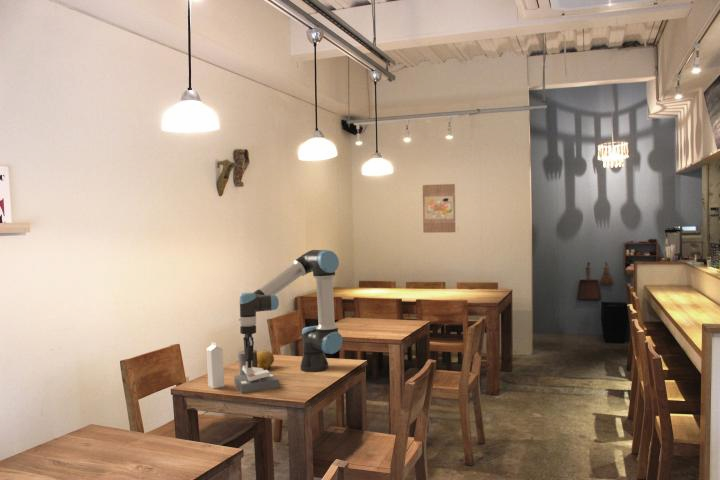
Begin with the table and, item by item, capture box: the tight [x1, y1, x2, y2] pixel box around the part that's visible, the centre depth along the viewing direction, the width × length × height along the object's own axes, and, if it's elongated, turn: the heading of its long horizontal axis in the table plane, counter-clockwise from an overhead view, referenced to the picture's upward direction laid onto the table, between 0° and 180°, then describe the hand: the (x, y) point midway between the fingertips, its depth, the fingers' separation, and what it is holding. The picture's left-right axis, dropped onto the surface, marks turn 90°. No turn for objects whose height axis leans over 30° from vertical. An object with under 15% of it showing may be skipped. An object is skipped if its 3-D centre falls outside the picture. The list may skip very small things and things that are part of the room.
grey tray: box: [233, 370, 280, 394], centre depth 295 cm, size 18×19×5 cm
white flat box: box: [247, 369, 270, 381], centre depth 289 cm, size 10×5×2 cm, turn 112°
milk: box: [205, 341, 225, 389], centre depth 298 cm, size 6×6×22 cm
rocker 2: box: [244, 368, 263, 374], centre depth 295 cm, size 10×5×2 cm, turn 112°
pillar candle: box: [237, 349, 258, 376], centre depth 313 cm, size 10×10×15 cm
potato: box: [257, 349, 275, 370], centre depth 331 cm, size 10×12×10 cm
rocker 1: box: [242, 365, 264, 372], centre depth 301 cm, size 10×5×2 cm, turn 112°
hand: (249, 374), depth 288 cm, fingers closed
